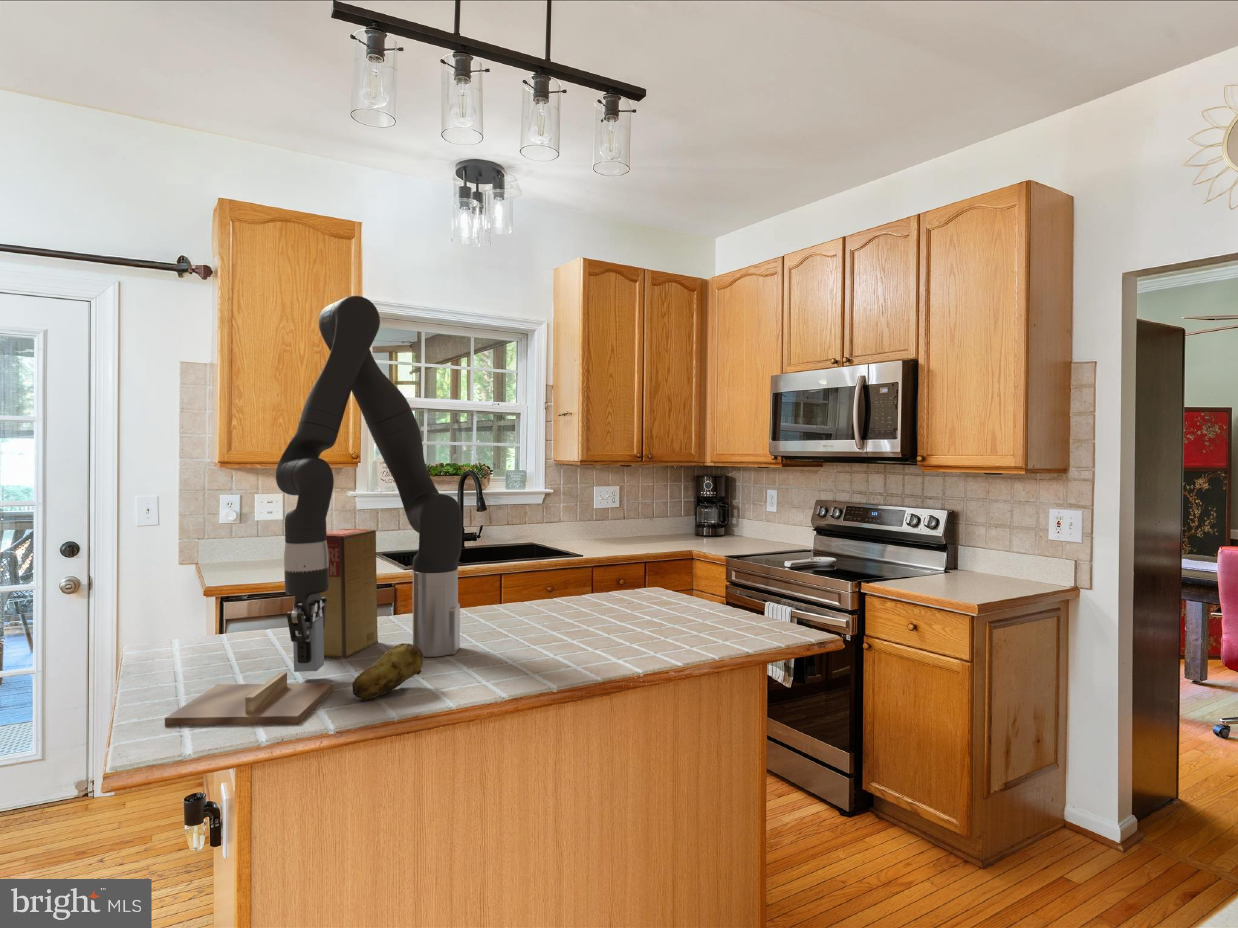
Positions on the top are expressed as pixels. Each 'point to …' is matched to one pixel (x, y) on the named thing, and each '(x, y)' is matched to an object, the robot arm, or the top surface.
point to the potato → (388, 671)
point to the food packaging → (350, 592)
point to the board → (252, 703)
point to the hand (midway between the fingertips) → (309, 658)
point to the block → (312, 649)
